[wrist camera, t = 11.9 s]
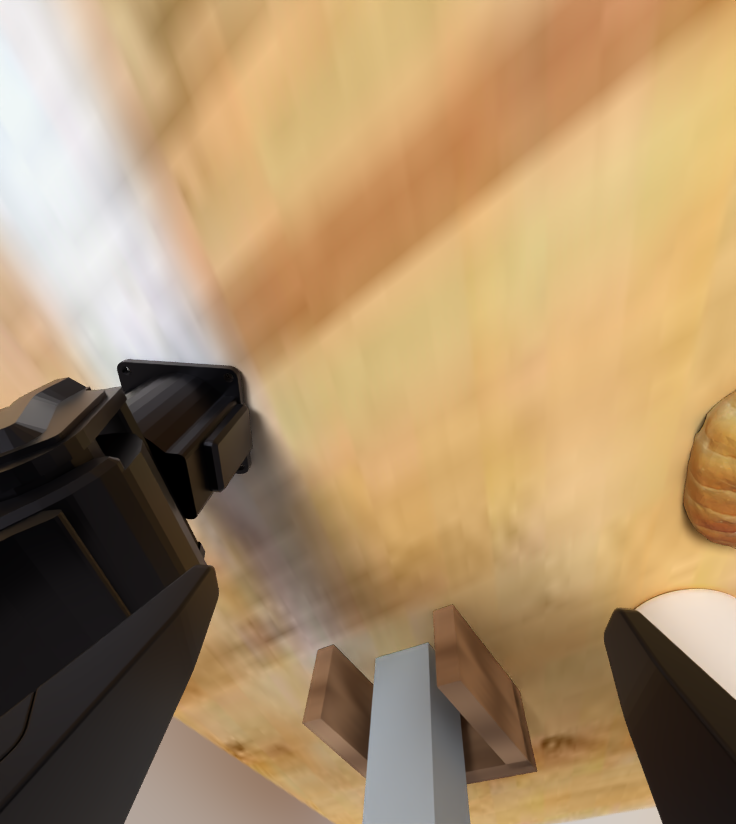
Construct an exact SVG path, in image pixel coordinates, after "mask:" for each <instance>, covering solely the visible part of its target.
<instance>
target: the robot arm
mask: <svg viewBox="0 0 736 824" xmlns="http://www.w3.org/2000/svg"><path fill="white" fill-rule="evenodd" d="M126 367H128V368H130V370H131V372H129V371H128V370H127V368H126ZM117 371H118V375H119V379H120V382H121V386H122V387H114V388H109V389H103V390H91V388H90V387H85V386H83V385H81V384H80V383H78V382H76V381H74V380H72V379H71V378H69V377H68V378H63V379H57V380H54V381H52V382H50V383H48V384H46V385H44V386H42V387H40V388H38V389H36V390H33V391H32V392H30V393H28V394H26V395H24V396H22V397H21V398H19V399H17V400H16V401H15V402H13V403H12V404H11V405H10V406H9V407H6V408H3V409H0V824H124V822H125V820H126V818H127V816H128V814H129V811H130V809H131V807H132V805H133V802H134V800H135V798H136V796H137V794H138V792H139V789H140V787H141V785H142V783H143V780H144V778H145V776H146V774H147V772H148V769H149V767H150V765H151V763H152V761H153V758H154V756H155V754H156V752H157V750H158V747H159V745H160V743H161V741H162V739H163V736H164V734H165V732H166V730H167V728H168V725H169V723H170V721H171V719H172V717H173V714H174V712H175V710H176V708H177V706H178V703H179V701H180V699H181V697H182V695H183V692H184V690H185V688H186V686H187V684H188V681H189V679H190V677H191V674H192V672H193V670H194V667H195V664H196V662H197V659H198V656H199V653H200V650H201V647H202V644H203V642H204V639H205V636H206V633H207V630H208V627H209V624H210V621H211V618H212V615H213V612H214V609H215V606H216V603H217V600H218V596H219V588H218V583H217V577H216V572H215V568H214V567H213V566H210V565H207V564H206V562H205V560H204V556H205V550H204V548H203V546H202V544H201V543H200V542H197V540H196V538H195V536H194V534H193V532H192V530H191V528H190V526H189V524H188V522H187V520H186V519H195V518H196V517H197V516H198V514H199V513H200V511H201V510H202V508H203V507H204V506H205V504H206V503H207V501H208V500H209V498H210V497H211V495H212V494H213V493H214V492H221V491H223V490H224V489H225V488H226V486H227V485H228V483H229V482H230V480H231V479H232V477H233V476H234V474H235V473H237V474H244V473H246V472H247V471H248V470H249V468H250V466H251V460H250V450H251V449H252V447H253V445H252V436H251V427H250V418H249V409H248V408H247V406H246V405H245V404H244V399H243V391H242V382H241V375H240V372H239V371H238V369H237V368H235V367H233V366H224V365H209V364H194V363H179V362H163V361H148V360H133V359H127V360H124V361H122V362H121V363H119V364H118V366H117ZM227 373H229V374H231V375H232V376H233V379H229V378H228V377H227ZM241 464H243V465H244V466H240V465H241ZM604 643H605V647H606V651H607V654H608V658H609V662H610V666H611V670H612V673H613V677H614V681H615V685H616V689H617V692H618V696H619V700H620V704H621V708H622V711H623V714H624V718H625V721H626V724H627V727H628V730H629V733H630V736H631V738H632V741H633V744H634V747H635V749H636V752H637V755H638V758H639V760H640V763H641V766H642V768H643V771H644V774H645V777H646V779H647V782H648V785H649V788H650V790H651V793H652V796H653V799H654V801H655V804H656V807H657V809H658V812H659V815H660V818H661V820H662V823H663V824H736V699H735V698H733V697H732V696H731V695H730V694H729V693H728V692H727V691H726V690H725V689H724V688H723V687H721V686H720V685H719V684H718V683H717V682H716V681H715V680H714V679H713V678H712V677H710V676H709V675H708V674H707V673H706V672H705V671H704V670H703V669H702V668H701V667H700V666H698V665H697V664H696V663H695V662H694V661H693V660H692V659H691V658H690V657H689V656H687V655H686V654H685V653H684V652H683V651H682V650H681V649H680V648H679V647H678V646H676V645H675V644H674V643H673V642H672V641H671V640H670V639H669V638H668V637H667V636H666V635H664V634H663V633H662V632H661V631H660V630H659V629H658V628H657V627H656V626H655V625H653V624H652V623H651V622H650V621H649V620H648V619H647V618H646V617H645V616H644V615H643V614H641V613H640V612H639V611H637V610H634V609H627V608H616V609H615V610H614V611H613V613H612V616H611V618H610V620H609V622H608V624H607V627H606V629H605V632H604Z"/></svg>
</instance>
